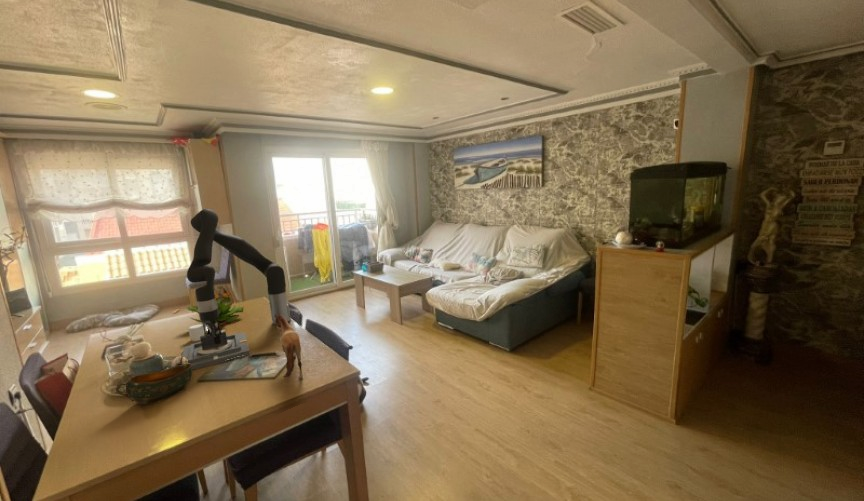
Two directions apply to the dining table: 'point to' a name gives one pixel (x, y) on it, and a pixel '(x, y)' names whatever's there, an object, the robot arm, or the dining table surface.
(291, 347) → the horse figurine
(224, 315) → the potted flower
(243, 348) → the dial board
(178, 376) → the dark green oval bowl
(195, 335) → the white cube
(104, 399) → the dining table surface
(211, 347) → the dial
